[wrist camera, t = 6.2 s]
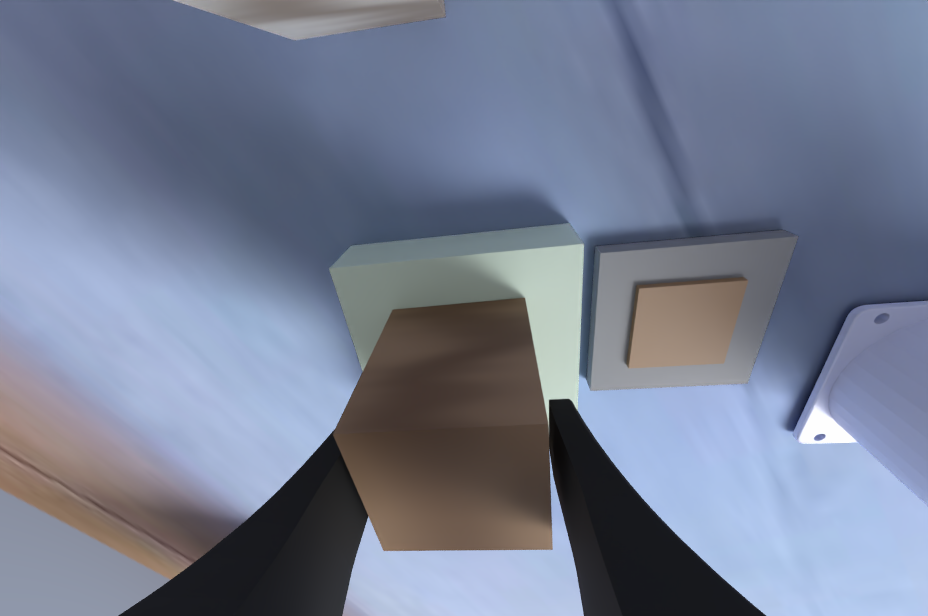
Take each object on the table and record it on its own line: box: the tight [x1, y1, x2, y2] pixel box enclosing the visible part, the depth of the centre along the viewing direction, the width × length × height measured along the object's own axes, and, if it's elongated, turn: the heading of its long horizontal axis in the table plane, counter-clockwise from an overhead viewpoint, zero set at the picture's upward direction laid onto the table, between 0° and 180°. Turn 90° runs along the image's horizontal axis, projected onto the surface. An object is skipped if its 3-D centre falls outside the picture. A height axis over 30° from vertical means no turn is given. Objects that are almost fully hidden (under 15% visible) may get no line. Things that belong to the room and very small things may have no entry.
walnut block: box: [333, 298, 553, 551], centre depth 12 cm, size 5×5×6 cm
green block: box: [329, 223, 584, 427], centre depth 16 cm, size 9×9×3 cm
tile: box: [586, 230, 799, 391], centre depth 15 cm, size 7×7×1 cm
